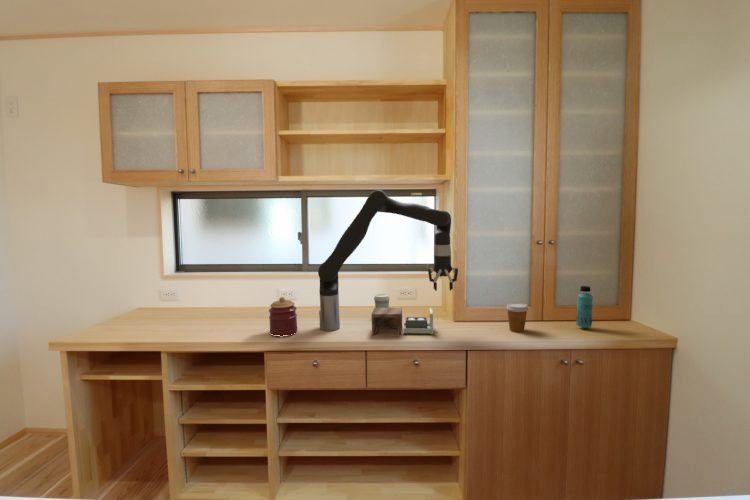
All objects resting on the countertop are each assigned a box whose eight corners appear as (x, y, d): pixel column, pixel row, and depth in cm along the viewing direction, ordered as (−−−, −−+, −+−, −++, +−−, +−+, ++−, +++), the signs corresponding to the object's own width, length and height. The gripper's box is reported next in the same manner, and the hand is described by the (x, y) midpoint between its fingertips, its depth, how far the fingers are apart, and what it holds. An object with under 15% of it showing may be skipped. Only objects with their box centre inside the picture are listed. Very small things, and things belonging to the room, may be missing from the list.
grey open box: (405, 329, 175) (405, 320, 175) (406, 326, 181) (405, 317, 180) (427, 330, 174) (427, 320, 174) (427, 326, 180) (426, 317, 179)
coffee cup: (391, 315, 206) (391, 294, 205) (388, 319, 198) (387, 297, 197) (376, 314, 209) (376, 293, 207) (372, 319, 200) (371, 297, 199)
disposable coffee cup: (525, 327, 179) (526, 302, 178) (529, 333, 170) (530, 307, 169) (504, 326, 181) (504, 302, 180) (507, 333, 172) (507, 307, 171)
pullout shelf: (403, 333, 173) (403, 313, 172) (404, 326, 183) (403, 308, 182) (433, 333, 172) (432, 313, 171) (432, 327, 182) (431, 308, 181)
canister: (294, 337, 174) (292, 299, 173) (266, 338, 174) (264, 300, 172) (299, 328, 187) (298, 293, 186) (273, 329, 187) (271, 294, 185)
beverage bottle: (572, 327, 177) (573, 285, 175) (583, 325, 179) (584, 284, 177) (584, 331, 171) (586, 288, 169) (595, 329, 173) (596, 286, 171)
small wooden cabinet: (372, 335, 174) (371, 314, 173) (375, 327, 186) (374, 307, 185) (401, 335, 172) (400, 314, 171) (402, 327, 184) (401, 307, 183)
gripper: (457, 253, 175) (458, 288, 177) (426, 253, 177) (427, 288, 179) (459, 255, 168) (459, 292, 170) (427, 255, 170) (427, 292, 171)
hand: (443, 290), depth 174 cm, fingers open, 6 cm apart
